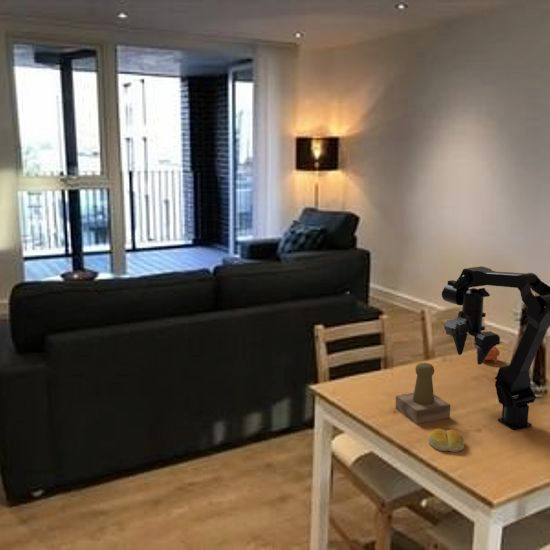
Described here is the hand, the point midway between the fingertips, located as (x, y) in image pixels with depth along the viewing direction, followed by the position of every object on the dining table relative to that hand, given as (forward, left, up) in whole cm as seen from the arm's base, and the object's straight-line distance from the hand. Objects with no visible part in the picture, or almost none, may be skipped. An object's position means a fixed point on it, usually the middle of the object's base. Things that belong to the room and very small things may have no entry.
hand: (469, 359), depth 178 cm
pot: (+26, -29, -13) cm, 41 cm away
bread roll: (-21, +23, -14) cm, 34 cm away
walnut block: (-3, +18, -13) cm, 22 cm away
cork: (-3, +18, -9) cm, 20 cm away
